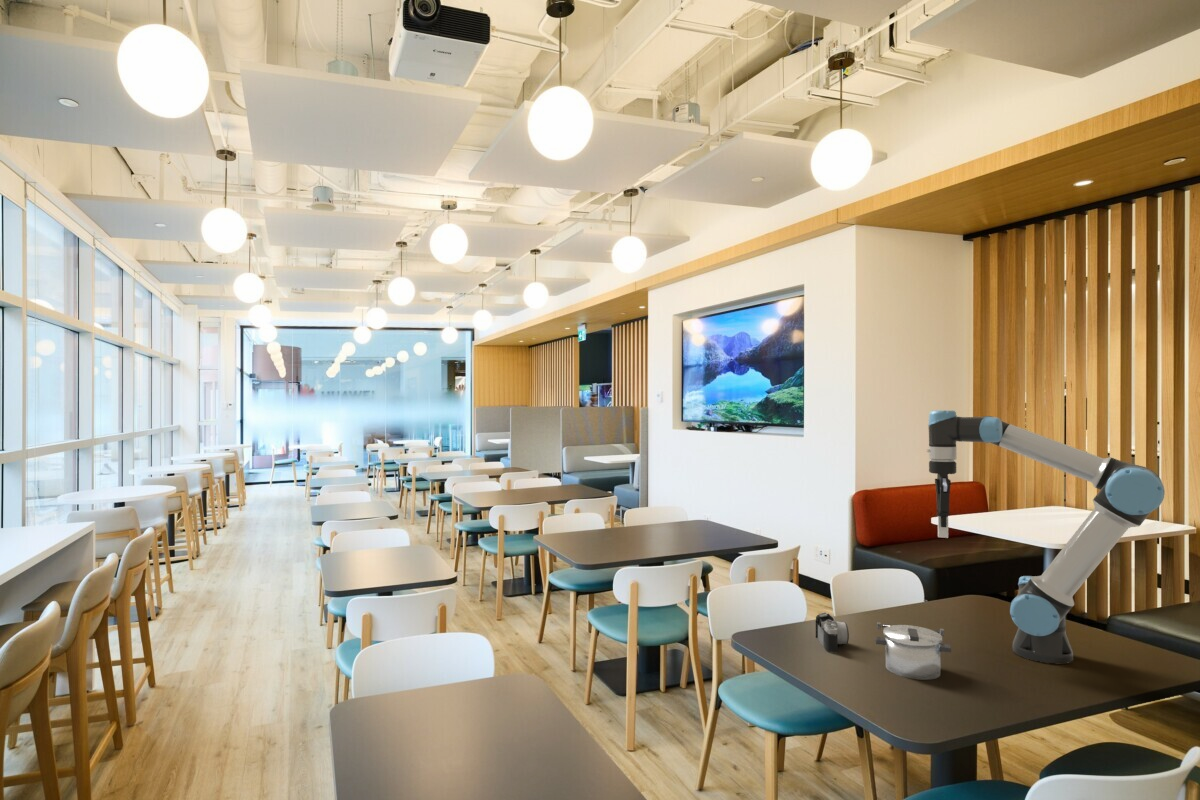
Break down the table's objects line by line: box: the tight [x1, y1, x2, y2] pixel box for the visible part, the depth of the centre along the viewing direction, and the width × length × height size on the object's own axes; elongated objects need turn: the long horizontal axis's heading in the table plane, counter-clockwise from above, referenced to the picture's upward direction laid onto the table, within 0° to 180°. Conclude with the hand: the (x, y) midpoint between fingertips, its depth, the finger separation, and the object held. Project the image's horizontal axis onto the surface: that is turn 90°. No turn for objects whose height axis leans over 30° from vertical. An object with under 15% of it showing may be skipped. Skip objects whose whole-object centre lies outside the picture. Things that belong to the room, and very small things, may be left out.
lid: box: [881, 624, 943, 647], centre depth 189 cm, size 16×15×3 cm
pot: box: [875, 621, 952, 681], centre depth 189 cm, size 16×19×10 cm
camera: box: [815, 611, 850, 654], centre depth 209 cm, size 16×9×10 cm, turn 174°
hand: (943, 537), depth 206 cm, fingers closed
